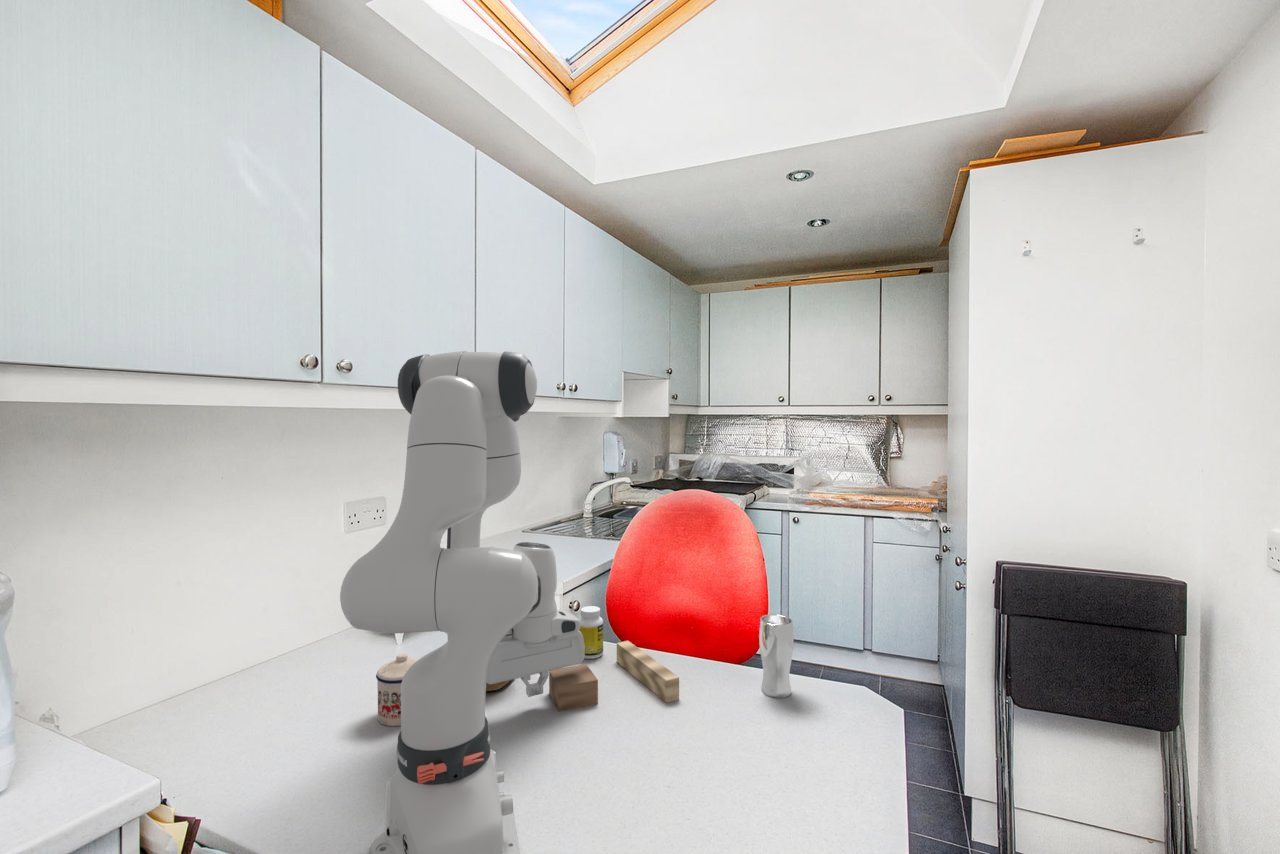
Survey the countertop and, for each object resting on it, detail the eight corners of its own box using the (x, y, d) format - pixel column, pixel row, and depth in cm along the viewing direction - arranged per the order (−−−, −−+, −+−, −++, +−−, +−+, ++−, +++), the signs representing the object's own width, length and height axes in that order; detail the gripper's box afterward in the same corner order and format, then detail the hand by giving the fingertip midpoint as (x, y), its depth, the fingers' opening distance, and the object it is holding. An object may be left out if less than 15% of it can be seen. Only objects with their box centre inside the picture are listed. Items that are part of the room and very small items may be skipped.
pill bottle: (602, 660, 136) (602, 613, 136) (576, 659, 136) (575, 613, 136) (604, 649, 142) (604, 604, 142) (579, 649, 143) (579, 604, 142)
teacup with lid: (366, 725, 108) (365, 663, 107) (394, 701, 116) (393, 644, 116) (425, 731, 106) (425, 667, 105) (450, 706, 115) (449, 648, 114)
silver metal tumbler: (768, 680, 126) (768, 611, 125) (799, 690, 121) (799, 618, 121) (753, 692, 120) (753, 620, 120) (784, 702, 116) (784, 628, 115)
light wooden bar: (679, 699, 117) (679, 677, 117) (666, 702, 116) (666, 680, 116) (628, 659, 136) (628, 640, 136) (616, 662, 135) (616, 643, 135)
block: (597, 704, 116) (597, 679, 115) (558, 712, 113) (558, 687, 112) (586, 687, 123) (586, 664, 123) (549, 694, 120) (549, 670, 120)
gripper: (485, 640, 106) (485, 715, 106) (587, 620, 116) (588, 688, 116) (476, 629, 111) (477, 700, 112) (575, 611, 121) (575, 676, 122)
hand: (534, 694), depth 114 cm, fingers closed
